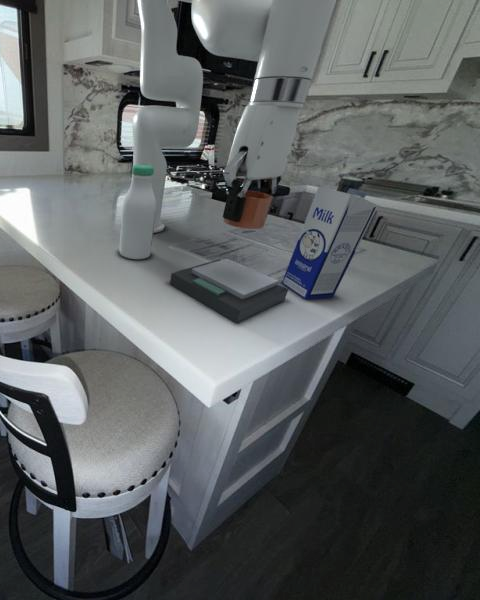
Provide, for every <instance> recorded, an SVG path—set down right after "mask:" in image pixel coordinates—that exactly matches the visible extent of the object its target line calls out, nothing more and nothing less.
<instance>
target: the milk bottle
mask: <svg viewBox="0 0 480 600" xmlns="http://www.w3.org/2000/svg"><path fill="white" fill-rule="evenodd" d="M153 172H154V167H152V166H148V165H134V166H133V165H132V168H131V182H130V183H131V184H130V186H129V189H128V191H127V193H126V194H125V196H124V198H123V199H124V200H123V203H122V208H121V218H120V219H121V220H120V234H119V249H118V251H119V254H120V255H121V256H122V257H123V258H126V259H129V260H145V259H147V258H149V257H150V256H151V254H152V253H151V252H152V247H153V239H154V233H153V231H154V223H155V213H156V201H155V197H154V193H153V190H152V184H151V180H152V178H153ZM132 177H133V179H132Z"/></svg>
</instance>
